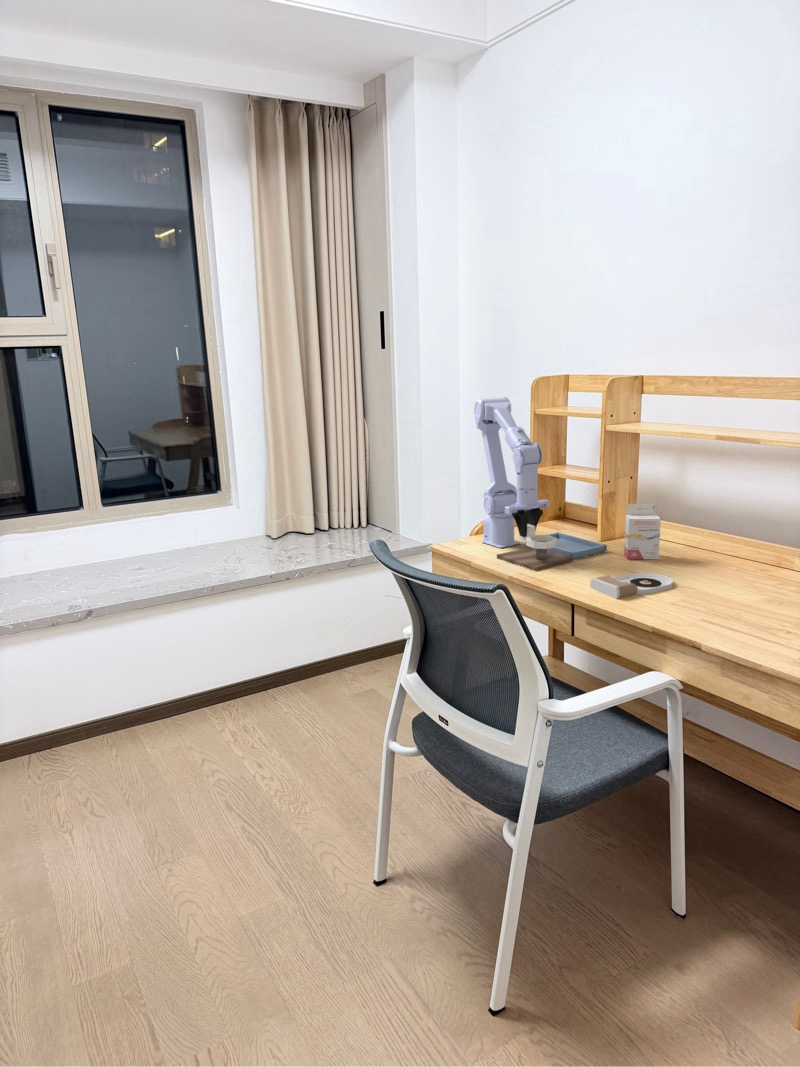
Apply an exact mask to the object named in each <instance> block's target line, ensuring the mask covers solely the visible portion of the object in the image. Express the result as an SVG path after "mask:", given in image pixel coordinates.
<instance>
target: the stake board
mask: <svg viewBox="0 0 800 1067" xmlns="http://www.w3.org/2000/svg"><path fill="white" fill-rule="evenodd" d="M496 559H499V560H502V561H504V562H507V563H510V564H512V565H516V564H517V565H516V566H518V565H520V566H519V567H521V566H523V567H522V568H524V567H526V568H525V569H527V568H529V569H528V570H530V569H532V570H531V571H533V570H536V571H539V570H538V569H540V570H543V569H542V568H545V569H548V567H549V568H551V567H552V566H553V567H556V565H557V566H559V565H564V564H568V562H569V563H572V561H573V562H574V560H573V558H572V557H568V556H565V555H562V554H558V553H555V552H552V551H548V550H547V549H537V548H532V547H529V546H528V547H525V548H520V549H515V550H511V551H507V552H503V553H498V554H496Z"/></svg>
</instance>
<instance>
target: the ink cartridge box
mask: <svg viewBox="0 0 800 1067" xmlns="http://www.w3.org/2000/svg"><path fill="white" fill-rule="evenodd" d="M638 509H640V510H638ZM642 509H646V510H642ZM657 510H658V505H657V504H656V503H654V504H651V503H646V504H644V503H643V504H642V503H640V504H639V503H635V504H634V503H633V504H630V503H629V504H627V505H626V515H625V524H624V530H625V531H624V549H623V550H624V551H623V555H624V556H625V558H626V559H627V560H631V559H658V560H659V555H660V541H661V540H660V538H661V523H662V522H661V518H660V516H658V514H657Z"/></svg>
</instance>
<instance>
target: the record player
mask: <svg viewBox="0 0 800 1067" xmlns="http://www.w3.org/2000/svg"><path fill="white" fill-rule="evenodd" d="M673 582H674V581H673V579H672V578H671V577H670V576H667V575H664V574H660V573H654V572H633V573H628V574H622V575H619V576H614V577H611V575H610V574H609V575H605V576H599V577H595V578H591V579H590V582H589V584H590V589H591V588H592V589H594V590H593V591H595V590H597V591H599V592H598V593H600V592H601V593H600V594H602V593H603V595H605V594H606V595H605V596H608V597H610V596H611V597H610V598H614V599H615V600H618V599H622V598H627V597H629V596H631V597H632V596H634V595H648V594H649V595H650V594H654V593H657V592H658V593H659V592H662V591H665V590H669V589H671V588H673V585H674V584H673ZM592 589H591V590H592ZM597 591H596V592H597Z"/></svg>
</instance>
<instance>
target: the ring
mask: <svg viewBox="0 0 800 1067" xmlns="http://www.w3.org/2000/svg"><path fill="white" fill-rule="evenodd" d="M518 539H519V540H520V539H521V540H523V541H524V542H525V546H526V547H528V548H529V547H532V548H537V549H549V548H553V547H556V545H557V538H555V537H552V536H549V535H547V534H536V531H535V526H533V525H530V524H527V535H526V537H522V536H520V534H519V533H518ZM536 541H546V542H536Z"/></svg>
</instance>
